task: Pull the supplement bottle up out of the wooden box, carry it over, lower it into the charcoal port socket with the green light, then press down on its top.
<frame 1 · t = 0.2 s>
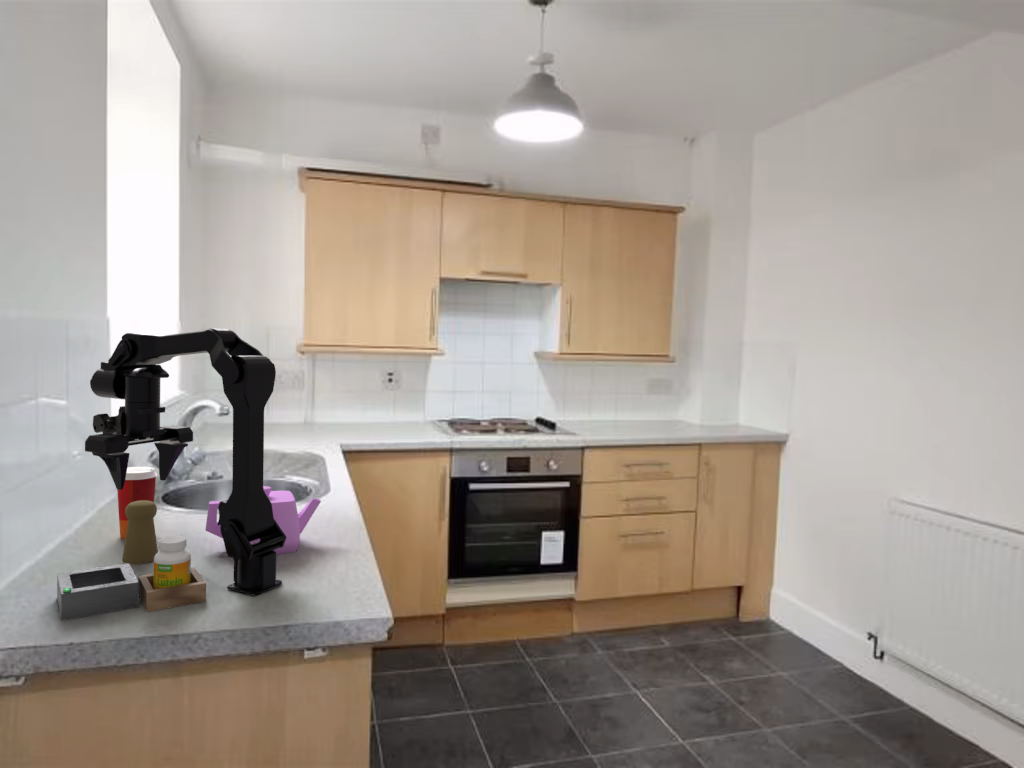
hand: (142, 484, 124), 14 cm above the worktop, fingers open, 9 cm apart
paper cup: (135, 536, 139), on the worktop
wooden box: (171, 597, 109), on the worktop
cork: (140, 560, 126), on the worktop
teakettle: (263, 546, 137), on the worktop
supplement bottle: (171, 598, 109), resting in wooden box
port: (97, 602, 105), on the worktop
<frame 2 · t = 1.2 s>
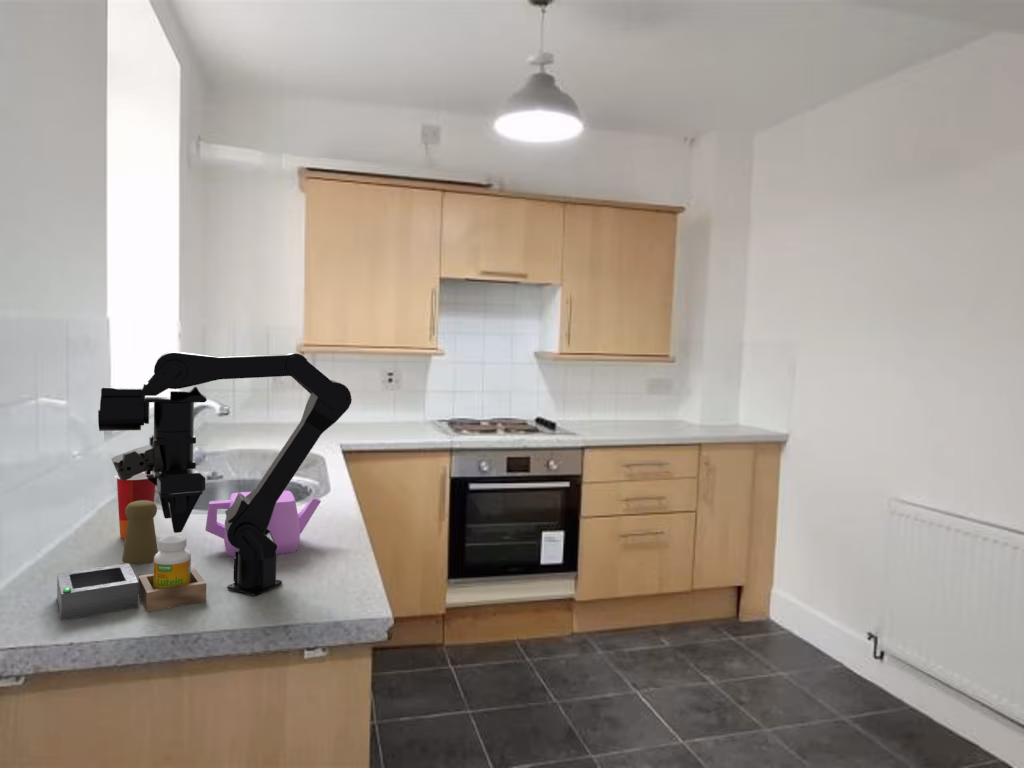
hand: (172, 524, 108), 12 cm above the worktop, fingers open, 9 cm apart
nothing on the worktop moved.
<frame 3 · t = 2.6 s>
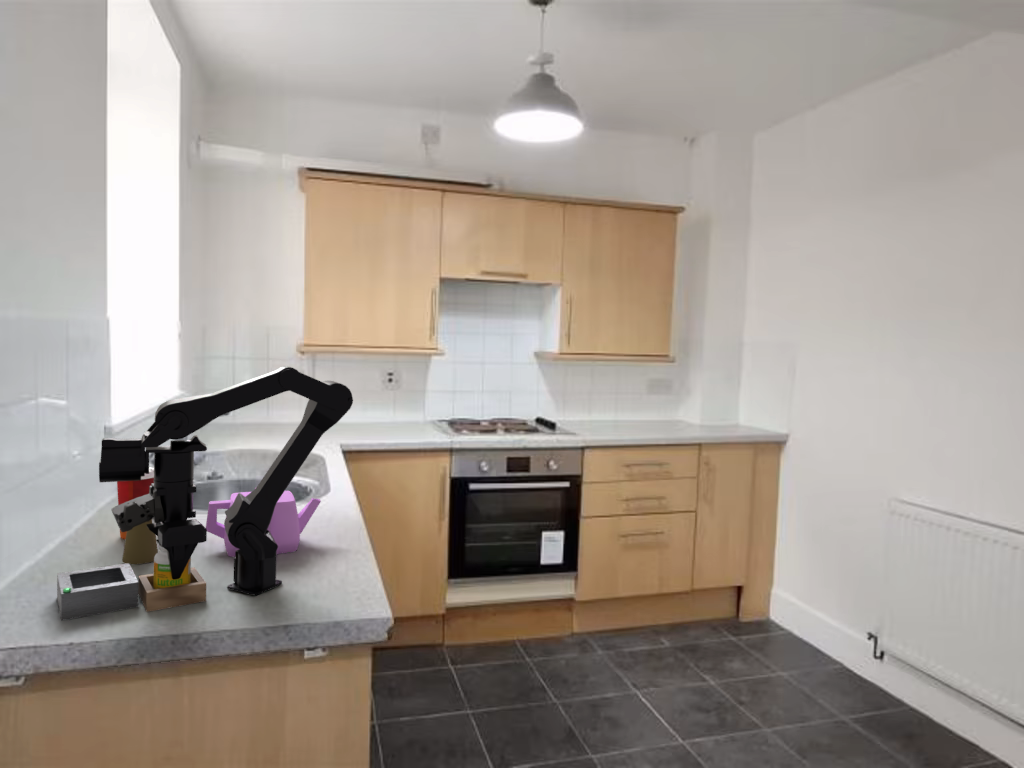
hand: (172, 573, 109), 4 cm above the worktop, fingers closed on supplement bottle, 5 cm apart
supplement bottle: (171, 598, 109), resting in wooden box, touching gripper
everything else where it was.
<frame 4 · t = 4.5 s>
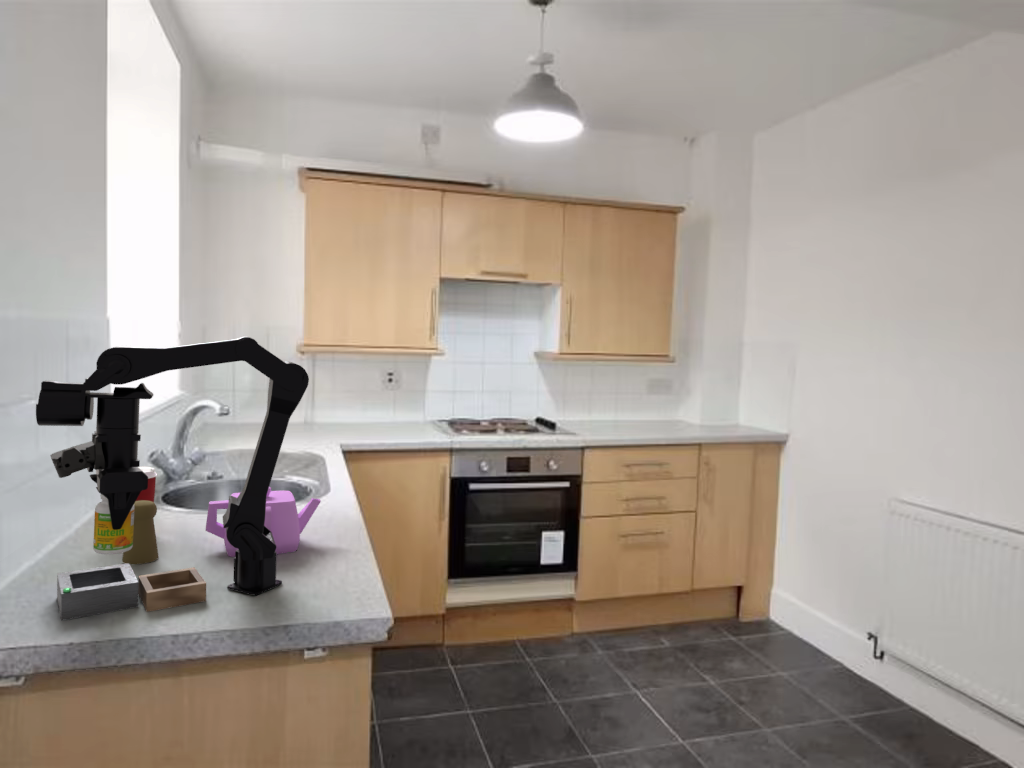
hand: (114, 524, 105), 12 cm above the worktop, fingers closed on supplement bottle, 5 cm apart
supplement bottle: (113, 550, 105), point 8 cm above the worktop, touching gripper
everything else where it was.
when the fingers open (5 cm above the worktop, at t = 6.4 s): supplement bottle stays where it is, resting in port.
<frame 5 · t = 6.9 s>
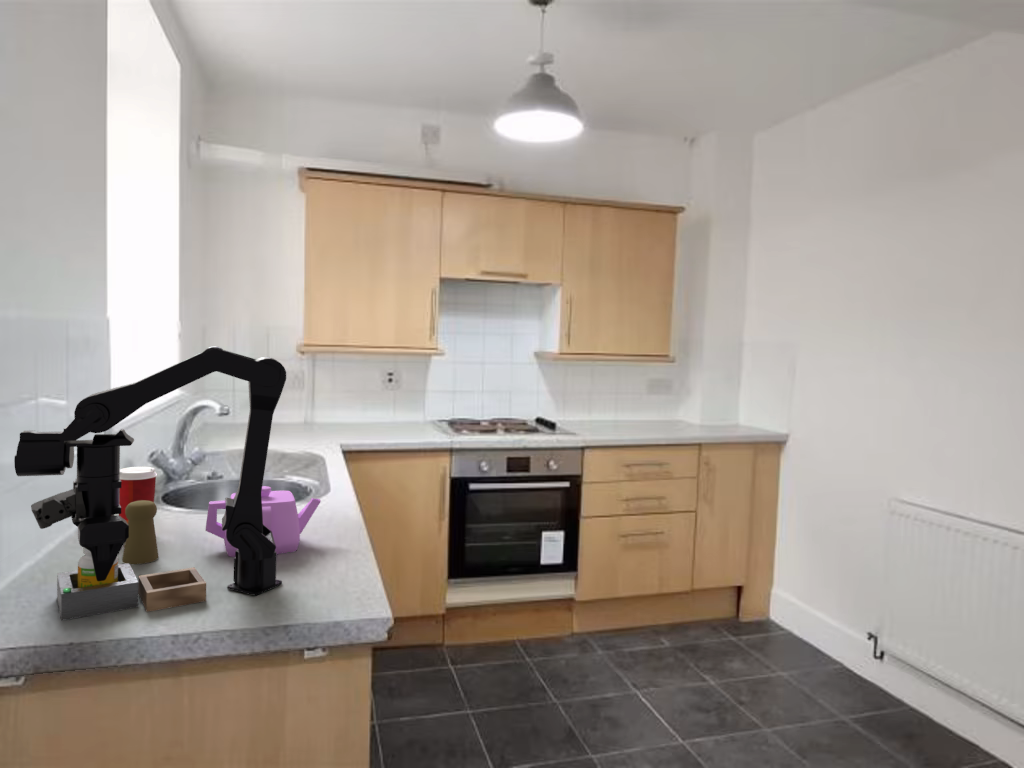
hand: (97, 571, 105), 5 cm above the worktop, fingers open, 9 cm apart
supplement bottle: (97, 603, 105), resting in port
everything else where it was.
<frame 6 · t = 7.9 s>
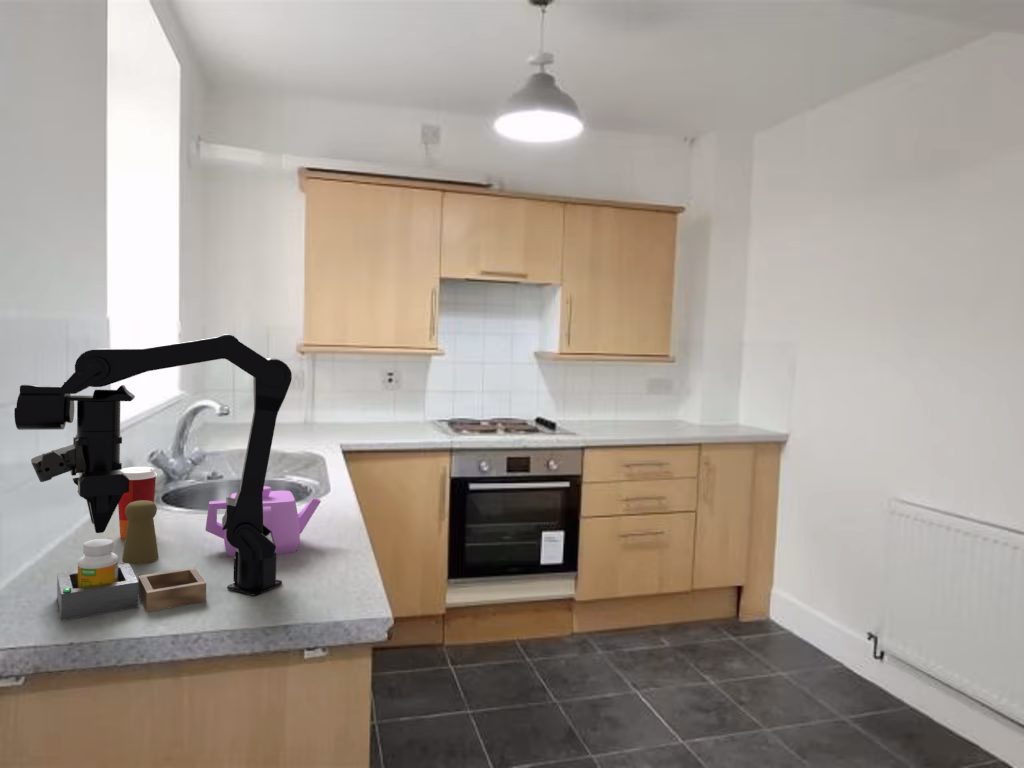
hand: (97, 527, 105), 12 cm above the worktop, fingers open, 5 cm apart
nothing on the worktop moved.
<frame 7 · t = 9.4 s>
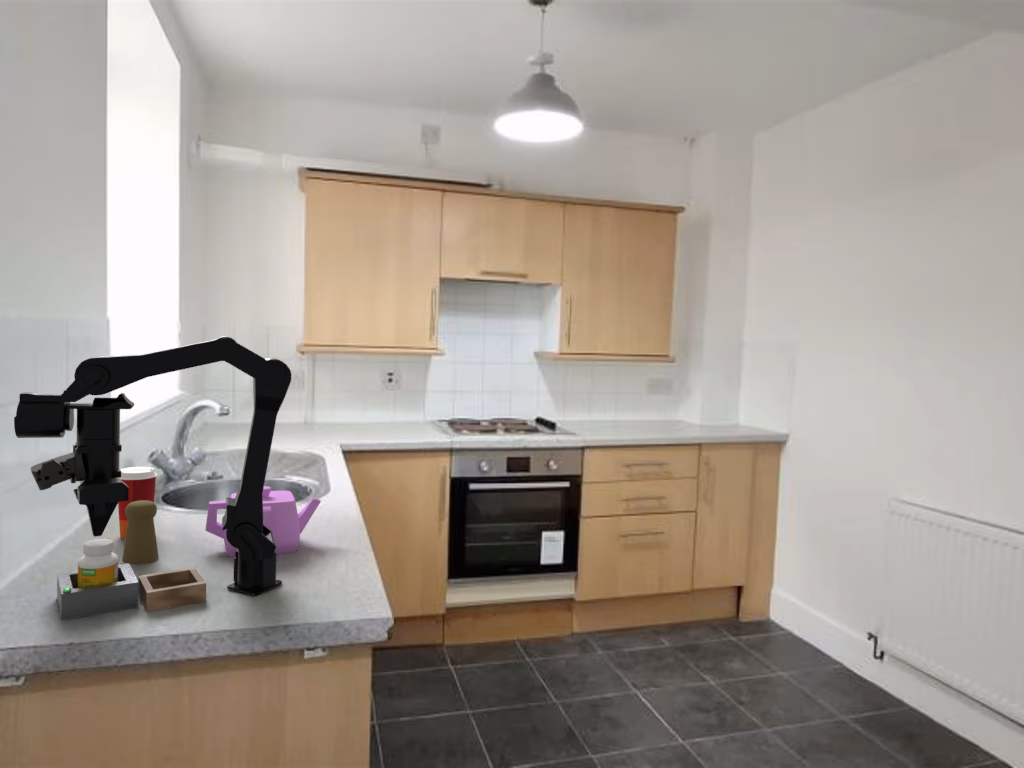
hand: (97, 535, 105), 11 cm above the worktop, fingers closed
nothing on the worktop moved.
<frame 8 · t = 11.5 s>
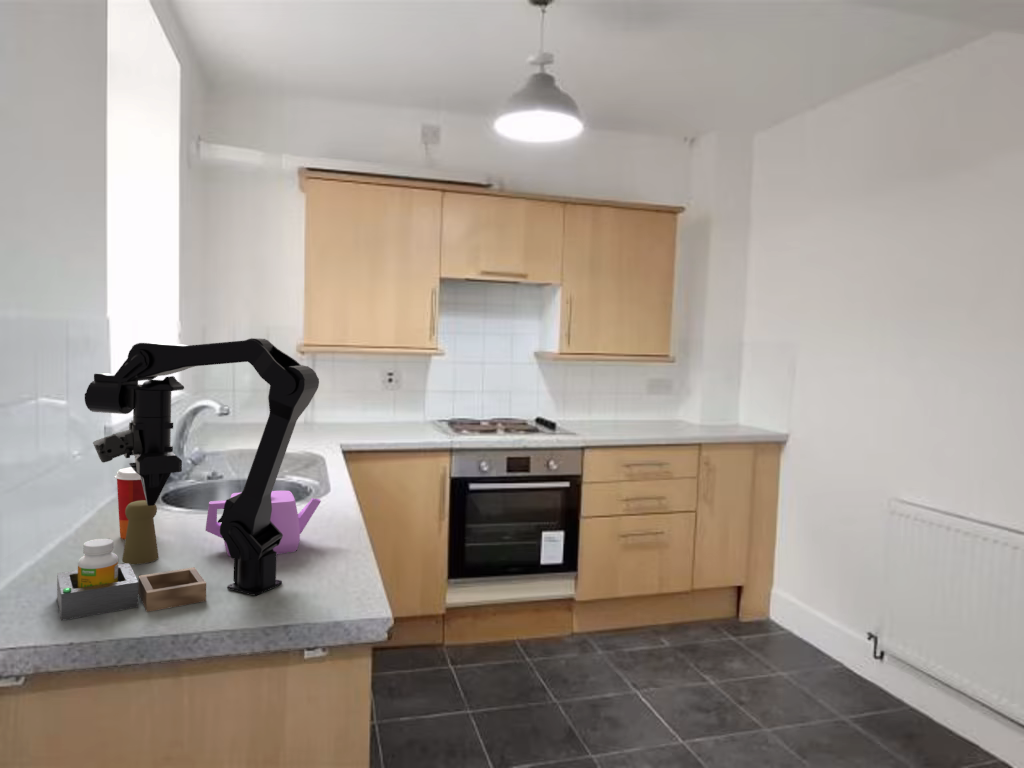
hand: (150, 505, 115), 13 cm above the worktop, fingers closed
nothing on the worktop moved.
at the end: supplement bottle 0.1 cm off-centre on the port, point 0.0 cm above the port's base; supplement bottle tilted 0°; the gripper is holding nothing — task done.
